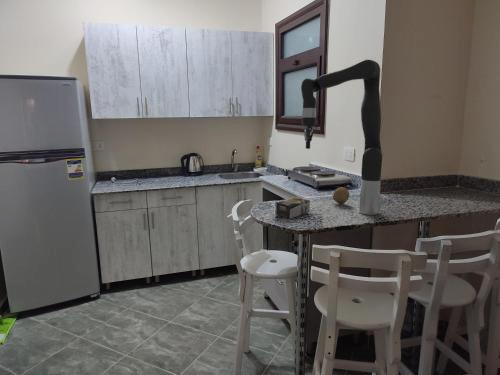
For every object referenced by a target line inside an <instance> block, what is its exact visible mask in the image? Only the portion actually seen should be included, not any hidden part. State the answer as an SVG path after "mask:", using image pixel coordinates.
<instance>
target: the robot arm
mask: <svg viewBox="0 0 500 375" xmlns="http://www.w3.org/2000/svg"><path fill="white" fill-rule="evenodd" d="M354 80H355V81H357V80H363V90H364V91H363V97H362V102H361V106H360V107H361V108H360V117H361V118H360V119H361V128H362V131H363V137H364V151H363V154H362V159H361V180H360V193H359V194H360V195H359V196H360V197H359V206H358V208H359V209H358V212H359V213H360V214H362V215H368V216H375V215H380V212H381V200H382V196H381V194H380V193H381V192H380V191H381V179H382V178H381V177H382V165H383V152H382V146H381V128H382V111H381V96H380V80H381V66H380V64H379V63H378V62H377V61H375V60H373V59H364V60H362V61H360V62H358V63H356V64H354V65H351V66H349V67H346V68H344V69H340V70H337V71H333V72H329V73H326V74H325V73H324V74H322V75H320V76H319V77H317V78H308V77H307V78H304V79H303V80H302V82H301V86H300V88H301V89H300V91H301V96H302V115H301V126H304V129H303V136H304V140H305V149H306V150H310V149H311V142H312V140H313V136H314V130H313V127H315V126H316V124H317V123H316V122H317V99H316V97H315V95H314V93H317V92H320V91H322V90H324V89H329V88H333V87H337V86H340V85H342V84H344V83H346V82H349V81H354Z"/></svg>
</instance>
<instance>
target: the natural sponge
mask: <svg viewBox="0 0 500 375" xmlns="http://www.w3.org/2000/svg"><path fill="white" fill-rule="evenodd" d="M332 199H333V201H335V202H336V203H337V204H339V205H344V204H345V203H347V201H348V200H350V192H349V190H348V189H347V188H345V186H340V187H338V188H336V189H335V190H334V192H333V193H332Z"/></svg>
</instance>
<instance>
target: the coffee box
mask: <svg viewBox="0 0 500 375" xmlns="http://www.w3.org/2000/svg"><path fill="white" fill-rule="evenodd" d="M275 203H276V204H275V215H276V216H280V217H283V218H286V219H289V220H290V219H293V218H296V217H299V216H301V215H304V214H306V213H309V212H310V208H311V207H310V206H311V200H310V199H306V198H303V197H299V196H293V197H291V198H288V199H284V200H281V201H277V202H275Z"/></svg>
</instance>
